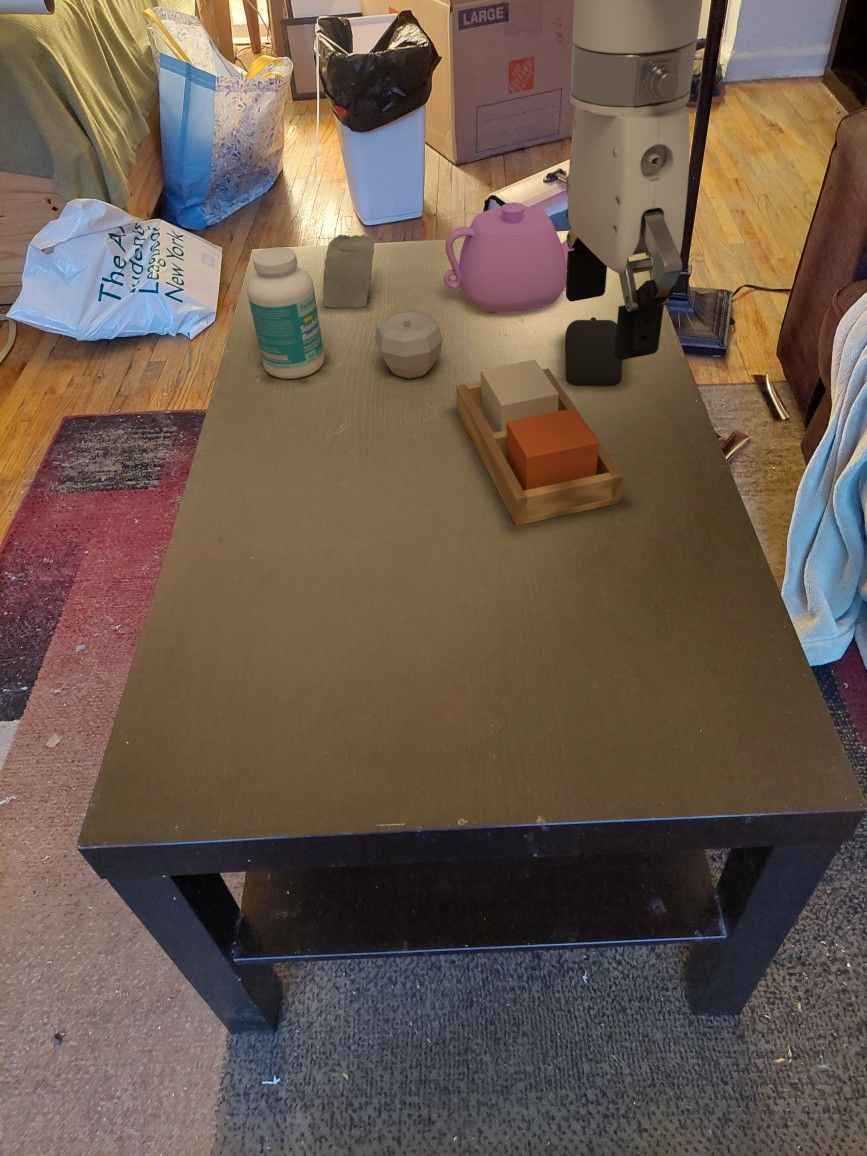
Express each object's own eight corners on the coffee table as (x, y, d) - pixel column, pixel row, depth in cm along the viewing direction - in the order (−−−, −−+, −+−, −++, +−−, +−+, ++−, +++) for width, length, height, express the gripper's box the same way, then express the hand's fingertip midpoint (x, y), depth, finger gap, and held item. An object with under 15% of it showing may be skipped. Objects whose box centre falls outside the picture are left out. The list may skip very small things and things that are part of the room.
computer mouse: (617, 335, 102) (620, 304, 99) (622, 386, 94) (626, 354, 91) (564, 335, 103) (566, 304, 100) (565, 385, 95) (567, 354, 92)
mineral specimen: (391, 300, 110) (372, 243, 104) (329, 319, 111) (306, 263, 105) (389, 273, 115) (370, 217, 109) (329, 291, 116) (308, 237, 110)
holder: (547, 393, 94) (548, 367, 91) (620, 503, 80) (624, 476, 78) (457, 411, 92) (455, 385, 90) (515, 526, 78) (516, 499, 76)
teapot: (451, 328, 105) (448, 235, 97) (438, 281, 115) (434, 192, 106) (608, 311, 106) (617, 218, 98) (582, 265, 116) (589, 176, 107)
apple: (364, 369, 100) (357, 318, 95) (416, 346, 103) (412, 295, 98) (405, 397, 95) (400, 344, 90) (458, 371, 98) (456, 319, 94)
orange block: (571, 449, 85) (575, 407, 81) (595, 485, 80) (599, 442, 77) (505, 463, 84) (506, 421, 80) (525, 500, 79) (527, 457, 76)
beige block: (533, 399, 92) (535, 359, 88) (556, 435, 87) (559, 393, 83) (481, 410, 91) (480, 369, 87) (501, 446, 86) (501, 405, 82)
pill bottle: (321, 380, 98) (303, 269, 89) (259, 383, 99) (234, 272, 89) (328, 348, 104) (311, 239, 94) (269, 350, 104) (246, 242, 94)
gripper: (757, 101, 47) (707, 371, 59) (629, 36, 59) (610, 270, 71) (632, 121, 46) (607, 391, 58) (529, 50, 58) (526, 286, 70)
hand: (609, 324), depth 65 cm, fingers open, 9 cm apart
